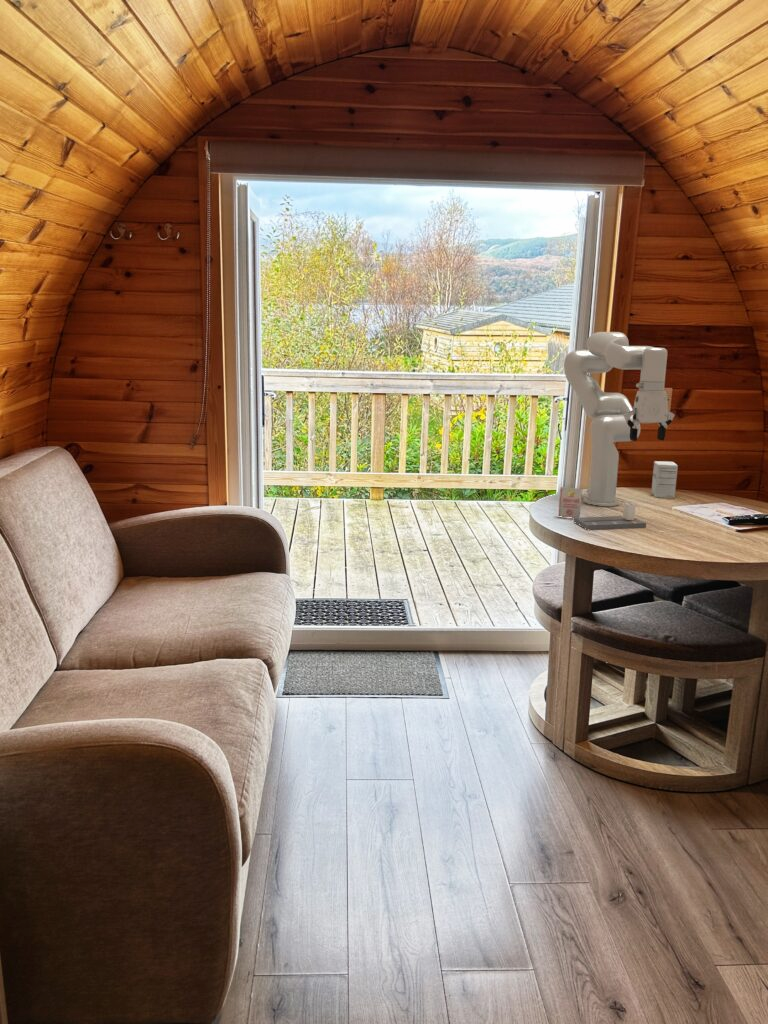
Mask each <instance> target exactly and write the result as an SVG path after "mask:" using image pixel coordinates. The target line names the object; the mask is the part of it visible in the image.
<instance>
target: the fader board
mask: <svg viewBox="0 0 768 1024" xmlns="http://www.w3.org/2000/svg"><path fill="white" fill-rule="evenodd" d="M574 522H576V523H578V524H580V525H581V526H583V527H585V528H586V529H601V530H617V529H619V530H620V529H623V528H625V529H640V528H641V529H645V528H647V522H645V521H643V520H641V519H639V518H637V517H635V518H634V520H626V519H624V518H623V515H613V516H612V515H611V516H587V517H586V516H585V517H581V516H580V518H574V519H573V523H574ZM576 523H575V524H576ZM578 524H577V525H578ZM581 526H580V527H581ZM583 527H582V528H583ZM585 528H584V529H585ZM586 529H585V530H586Z"/></svg>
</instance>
